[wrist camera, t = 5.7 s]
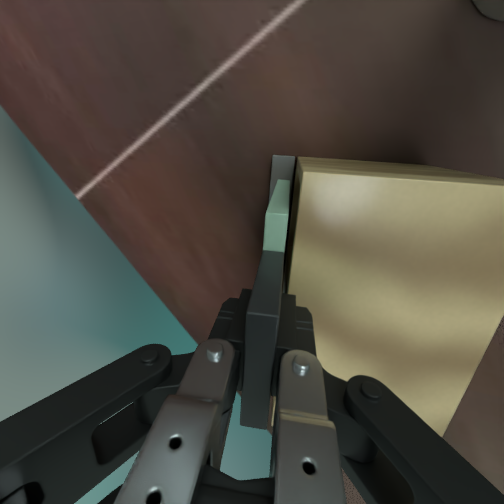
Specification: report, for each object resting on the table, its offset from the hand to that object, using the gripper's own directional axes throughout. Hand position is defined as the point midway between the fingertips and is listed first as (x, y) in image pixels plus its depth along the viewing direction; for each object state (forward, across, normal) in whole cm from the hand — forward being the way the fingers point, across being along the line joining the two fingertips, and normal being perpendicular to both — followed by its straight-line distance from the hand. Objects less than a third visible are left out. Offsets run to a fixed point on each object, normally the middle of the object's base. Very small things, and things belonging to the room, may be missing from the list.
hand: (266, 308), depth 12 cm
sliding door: (+12, 0, 0) cm, 12 cm away
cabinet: (+13, -5, +2) cm, 14 cm away
